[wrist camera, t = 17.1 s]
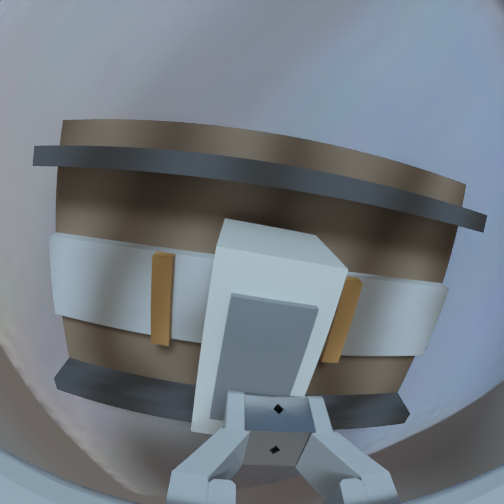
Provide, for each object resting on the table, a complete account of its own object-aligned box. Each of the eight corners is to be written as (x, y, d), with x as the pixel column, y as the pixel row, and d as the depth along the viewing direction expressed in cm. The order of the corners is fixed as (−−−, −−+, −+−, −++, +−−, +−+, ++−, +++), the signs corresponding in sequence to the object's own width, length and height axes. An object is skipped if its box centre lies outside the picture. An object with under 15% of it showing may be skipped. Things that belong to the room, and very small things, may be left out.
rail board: (452, 182, 17) (491, 189, 13) (379, 403, 21) (395, 436, 18) (75, 122, 15) (38, 116, 11) (82, 371, 20) (61, 404, 16)
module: (315, 235, 15) (351, 272, 10) (275, 379, 17) (285, 445, 12) (224, 218, 15) (215, 248, 9) (201, 369, 17) (189, 435, 12)
